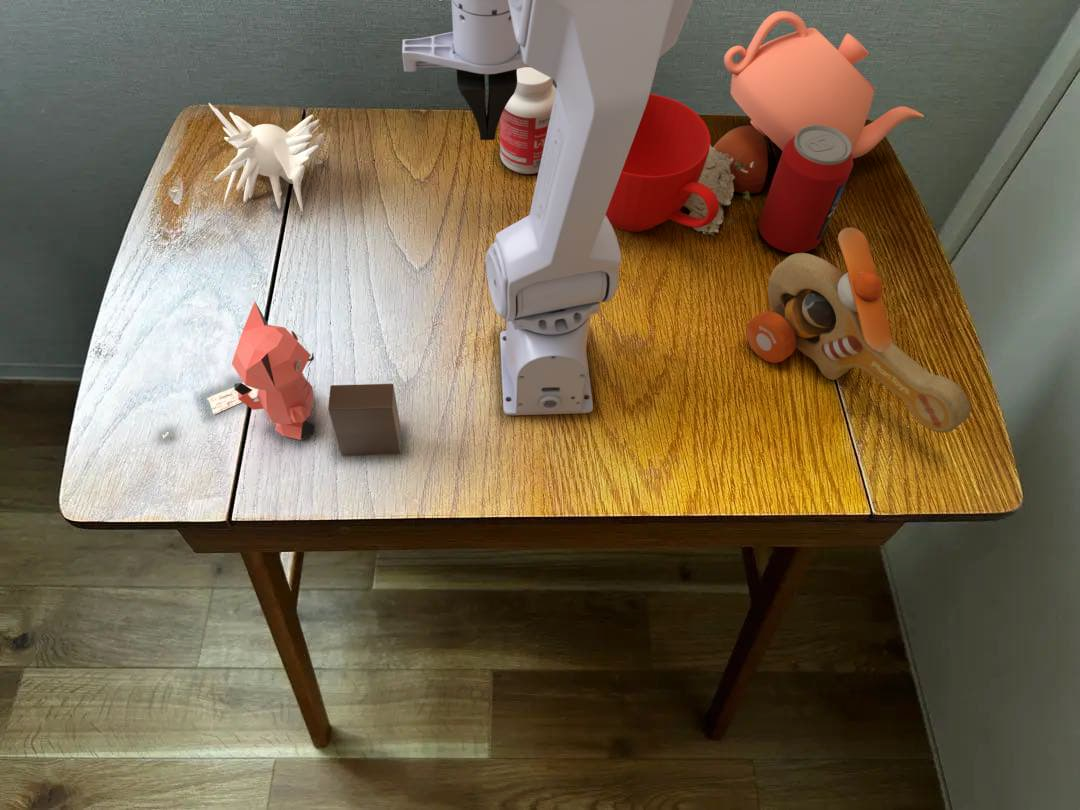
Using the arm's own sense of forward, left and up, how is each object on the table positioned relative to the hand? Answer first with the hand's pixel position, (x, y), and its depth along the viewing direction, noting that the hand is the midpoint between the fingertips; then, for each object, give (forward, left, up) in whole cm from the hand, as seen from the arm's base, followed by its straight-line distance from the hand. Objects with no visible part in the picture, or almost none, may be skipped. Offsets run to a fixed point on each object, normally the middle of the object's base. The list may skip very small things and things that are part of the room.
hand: (487, 133), depth 82 cm
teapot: (+8, -32, -7) cm, 34 cm away
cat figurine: (-25, +18, -10) cm, 33 cm away
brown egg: (+6, -26, -6) cm, 28 cm away
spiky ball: (+4, +23, -11) cm, 26 cm away
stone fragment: (+2, -24, -5) cm, 24 cm away
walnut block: (-28, +11, -10) cm, 32 cm away
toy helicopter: (-22, -32, -11) cm, 40 cm away
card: (-24, +25, -11) cm, 36 cm away
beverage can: (-4, -32, -11) cm, 34 cm away
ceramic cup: (-1, -17, -10) cm, 20 cm away
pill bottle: (+9, -5, -11) cm, 15 cm away
